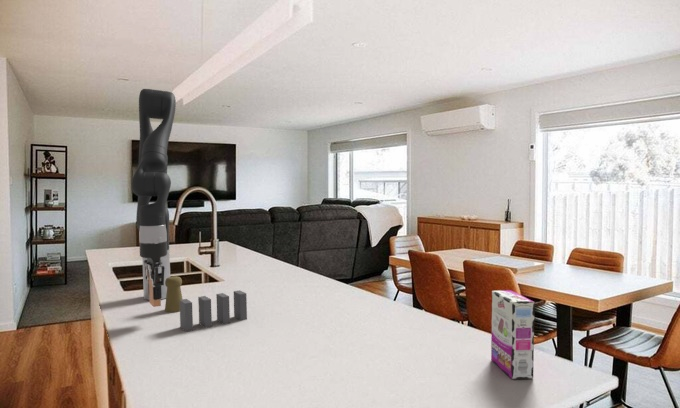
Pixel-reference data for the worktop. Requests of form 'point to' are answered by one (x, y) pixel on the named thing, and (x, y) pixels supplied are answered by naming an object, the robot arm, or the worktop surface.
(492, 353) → the candy bar box
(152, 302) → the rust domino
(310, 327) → the worktop surface
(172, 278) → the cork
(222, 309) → the domino
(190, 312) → the domino
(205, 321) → the domino
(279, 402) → the worktop surface
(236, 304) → the domino
